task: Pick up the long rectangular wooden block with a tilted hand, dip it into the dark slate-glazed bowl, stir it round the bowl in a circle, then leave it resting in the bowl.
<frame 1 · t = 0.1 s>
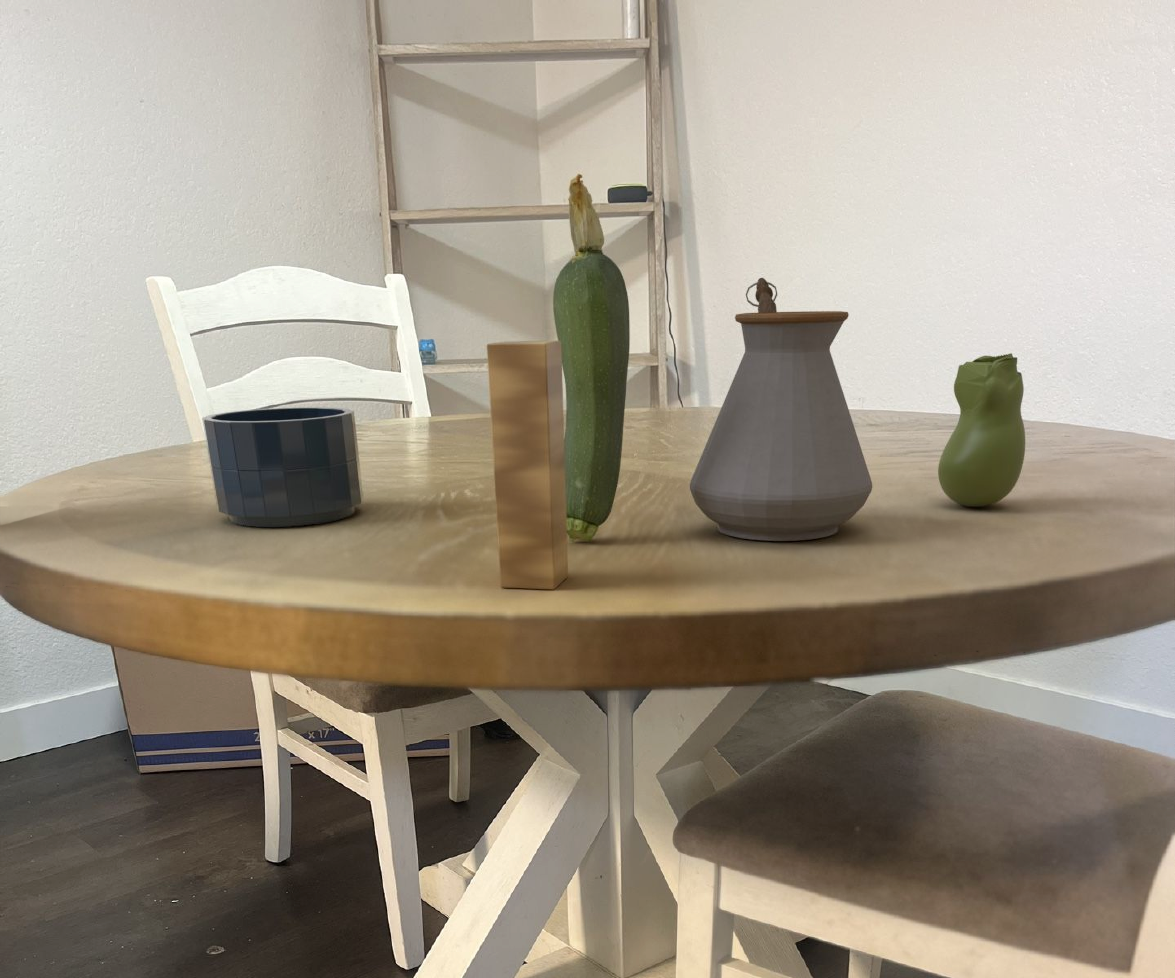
long rectangular wooden block: (534, 582, 56), on the table
bowl: (293, 515, 76), on the table
vegetable: (595, 545, 66), on the table
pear: (973, 509, 74), on the table
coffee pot: (768, 518, 72), on the table
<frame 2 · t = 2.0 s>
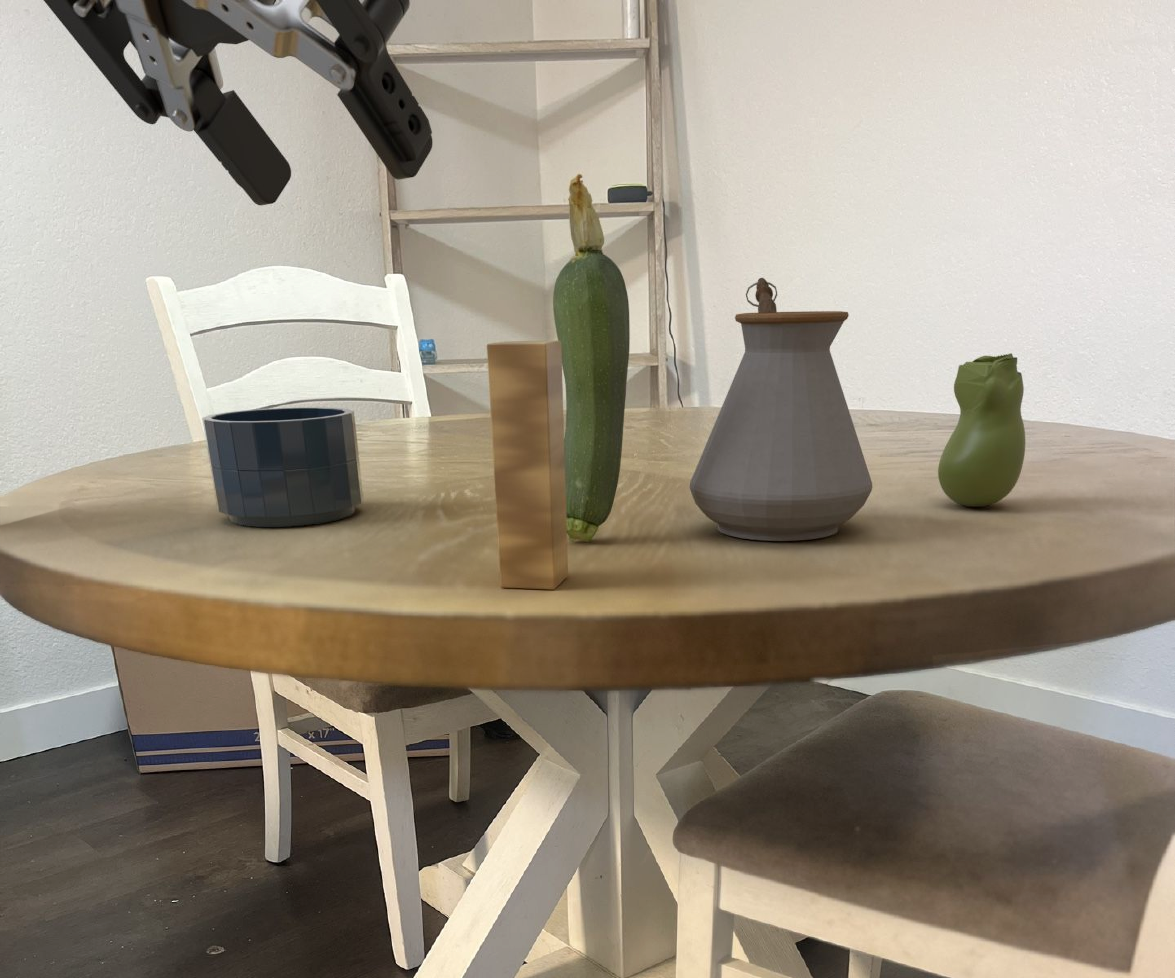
hand: (343, 178, 42), 19 cm above the table, tool tilted 45°, fingers open, 8 cm apart
nothing on the table moved.
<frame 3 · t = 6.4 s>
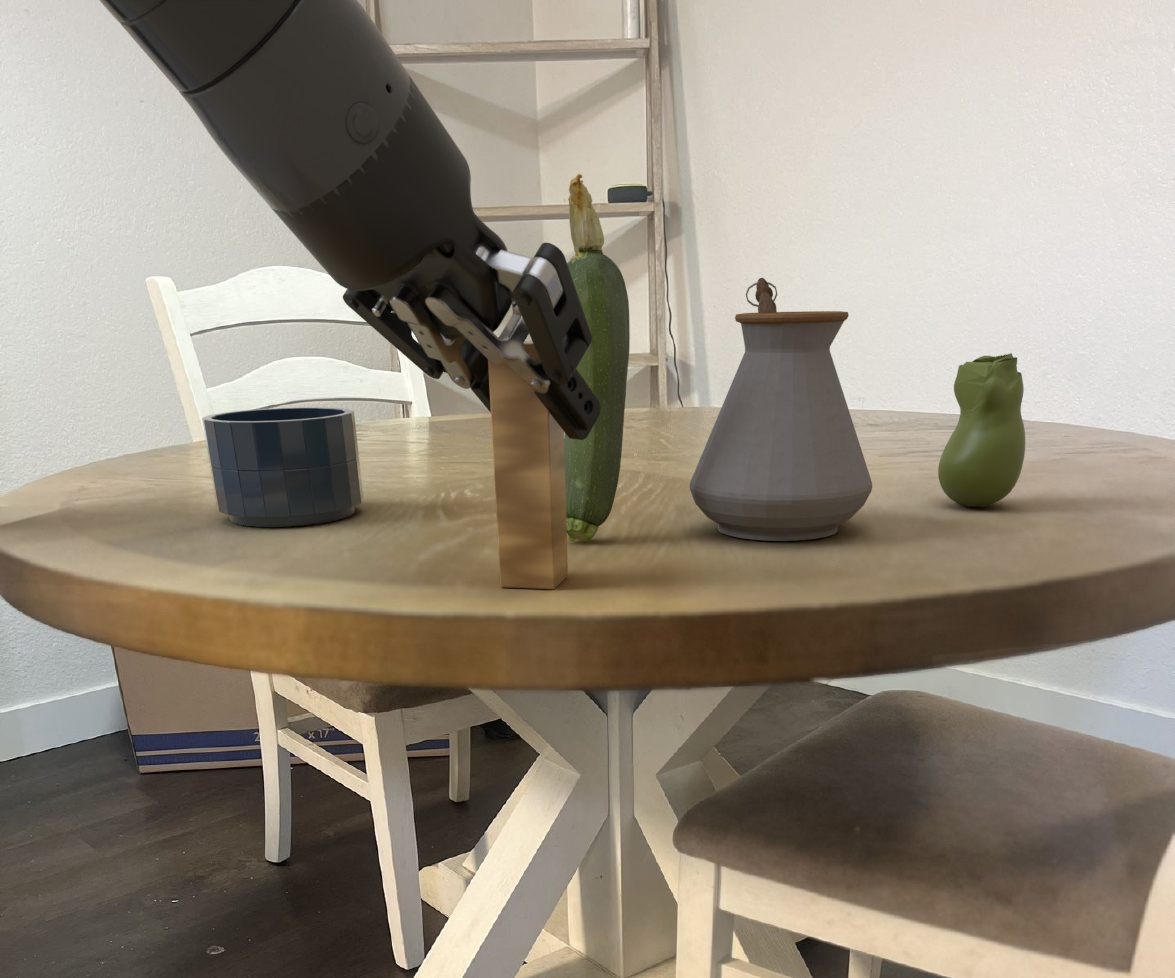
hand: (554, 422, 54), 8 cm above the table, tool tilted 45°, fingers closed on long rectangular wooden block, 4 cm apart
long rectangular wooden block: (534, 581, 57), on the table, touching gripper
everything else where it was.
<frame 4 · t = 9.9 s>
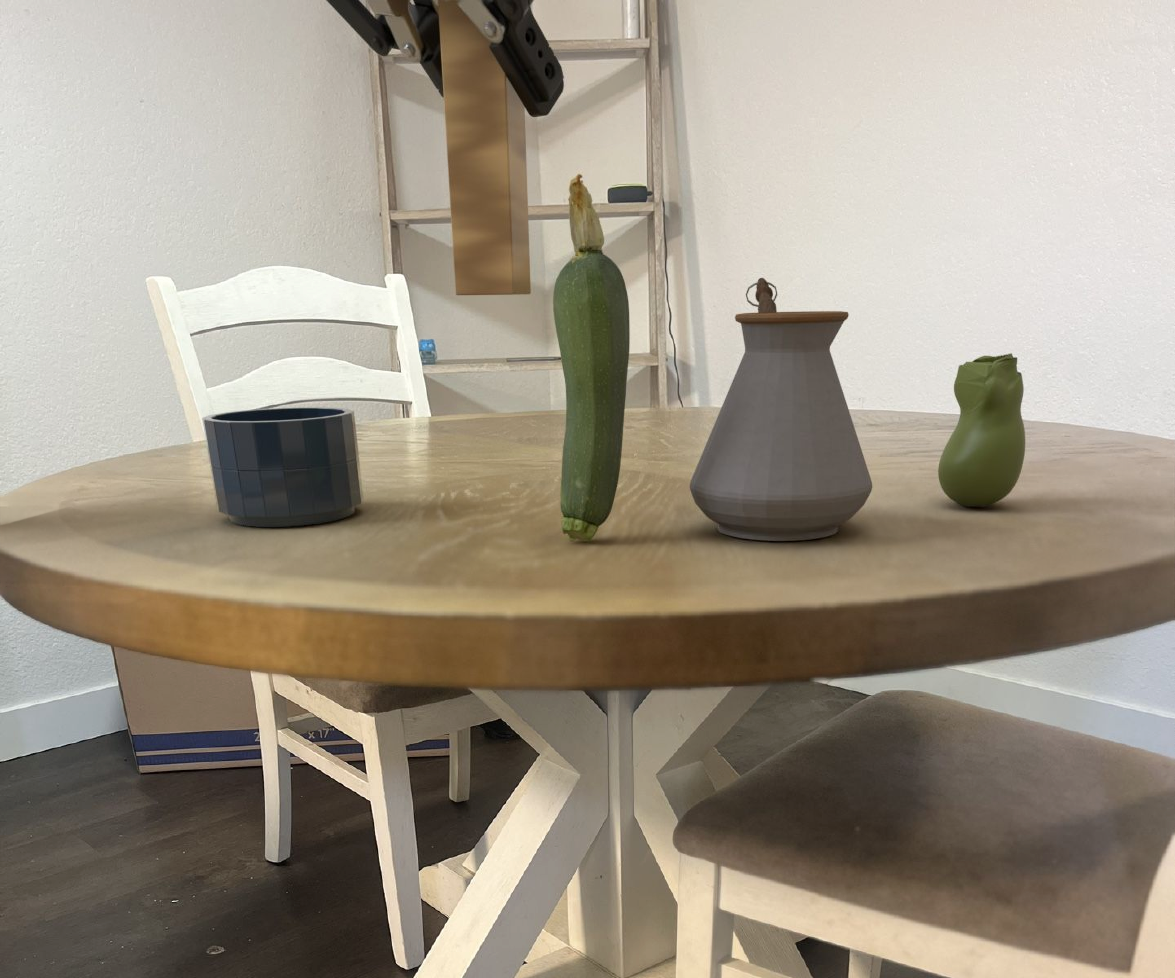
hand: (514, 108, 50), 22 cm above the table, tool tilted 45°, fingers closed on long rectangular wooden block, 4 cm apart
long rectangular wooden block: (493, 294, 52), point 14 cm above the table, touching gripper
everything else where it was.
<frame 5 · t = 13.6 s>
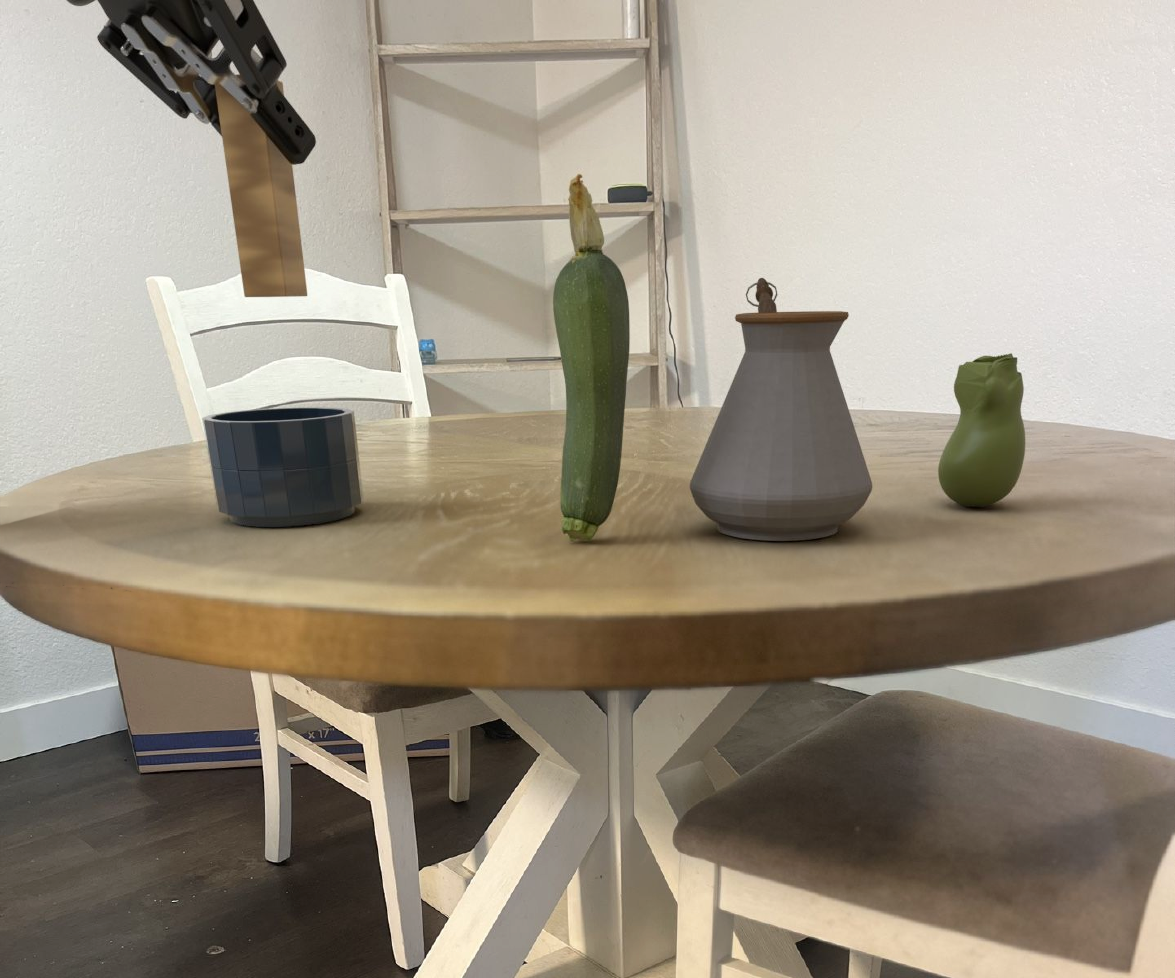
hand: (284, 157, 66), 22 cm above the table, tool tilted 45°, fingers closed on long rectangular wooden block, 4 cm apart
long rectangular wooden block: (276, 296, 68), point 14 cm above the table, touching gripper
everything else where it was.
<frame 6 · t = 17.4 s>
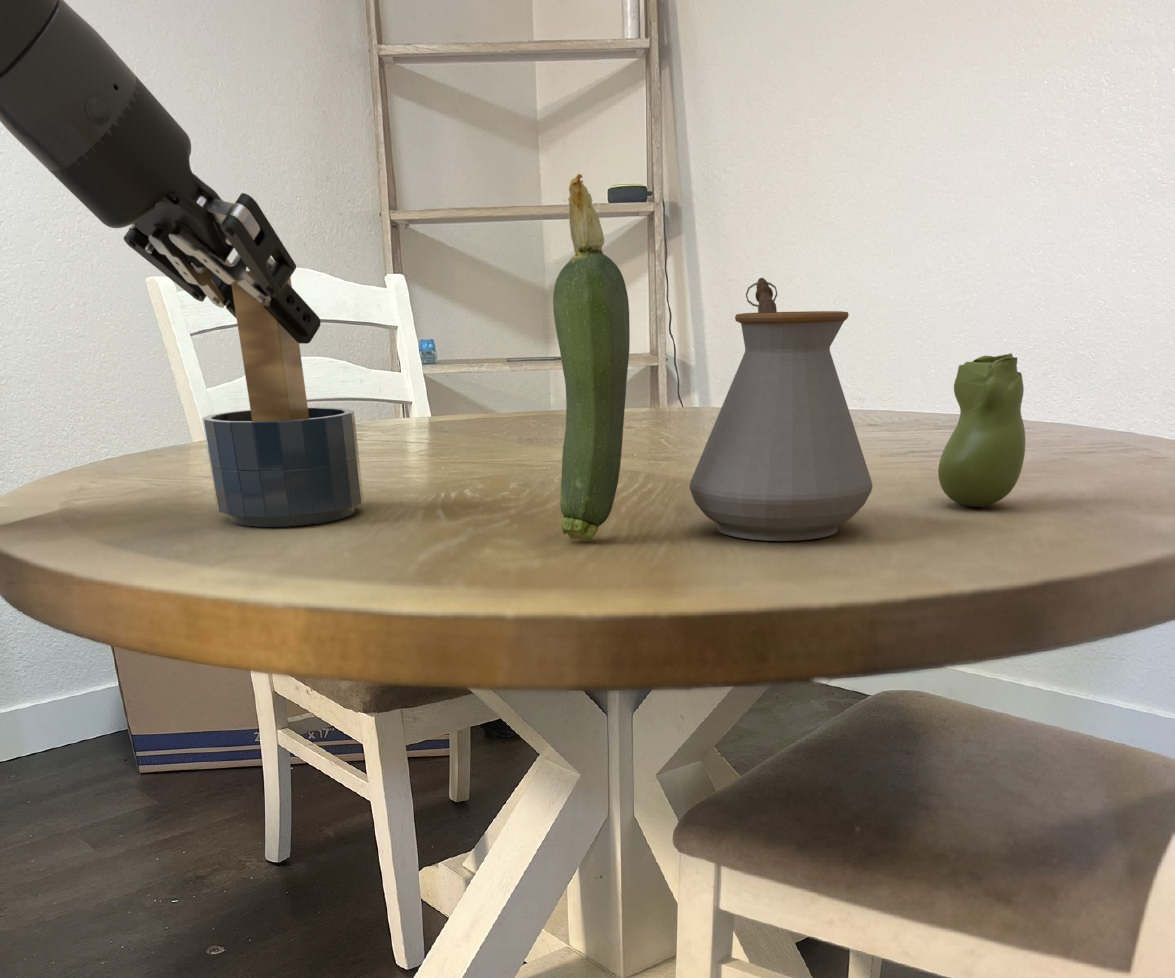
hand: (291, 333, 74), 12 cm above the table, tool tilted 45°, fingers closed on long rectangular wooden block, 4 cm apart
long rectangular wooden block: (286, 454, 76), point 4 cm above the table, touching gripper
everything else where it was.
when the fingers open (9 cm above the table, at t = 20.7 s): long rectangular wooden block stays where it is, resting on bowl.
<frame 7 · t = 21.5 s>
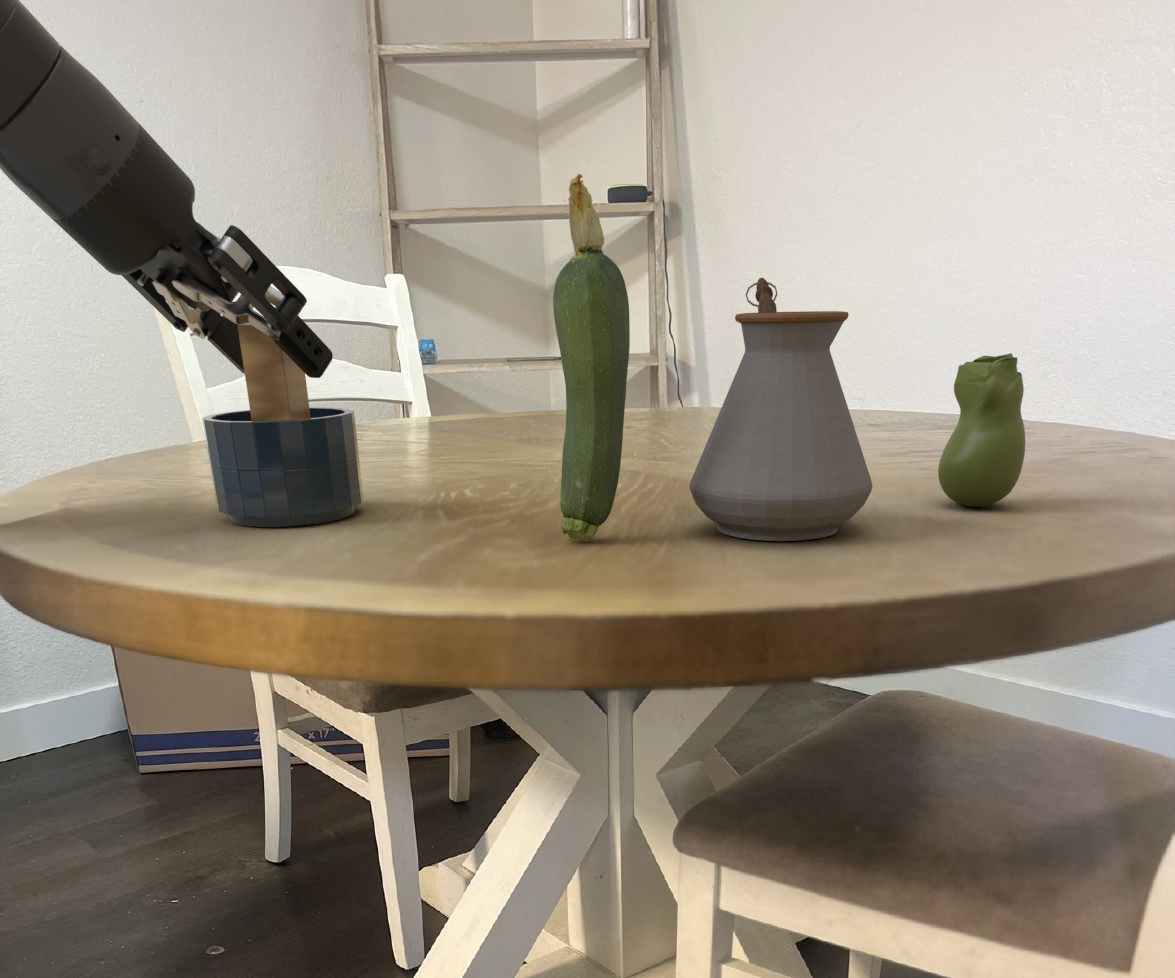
hand: (289, 366, 73), 10 cm above the table, tool tilted 45°, fingers open, 8 cm apart
long rectangular wooden block: (293, 504, 75), point 1 cm above the table, touching bowl
everything else where it was.
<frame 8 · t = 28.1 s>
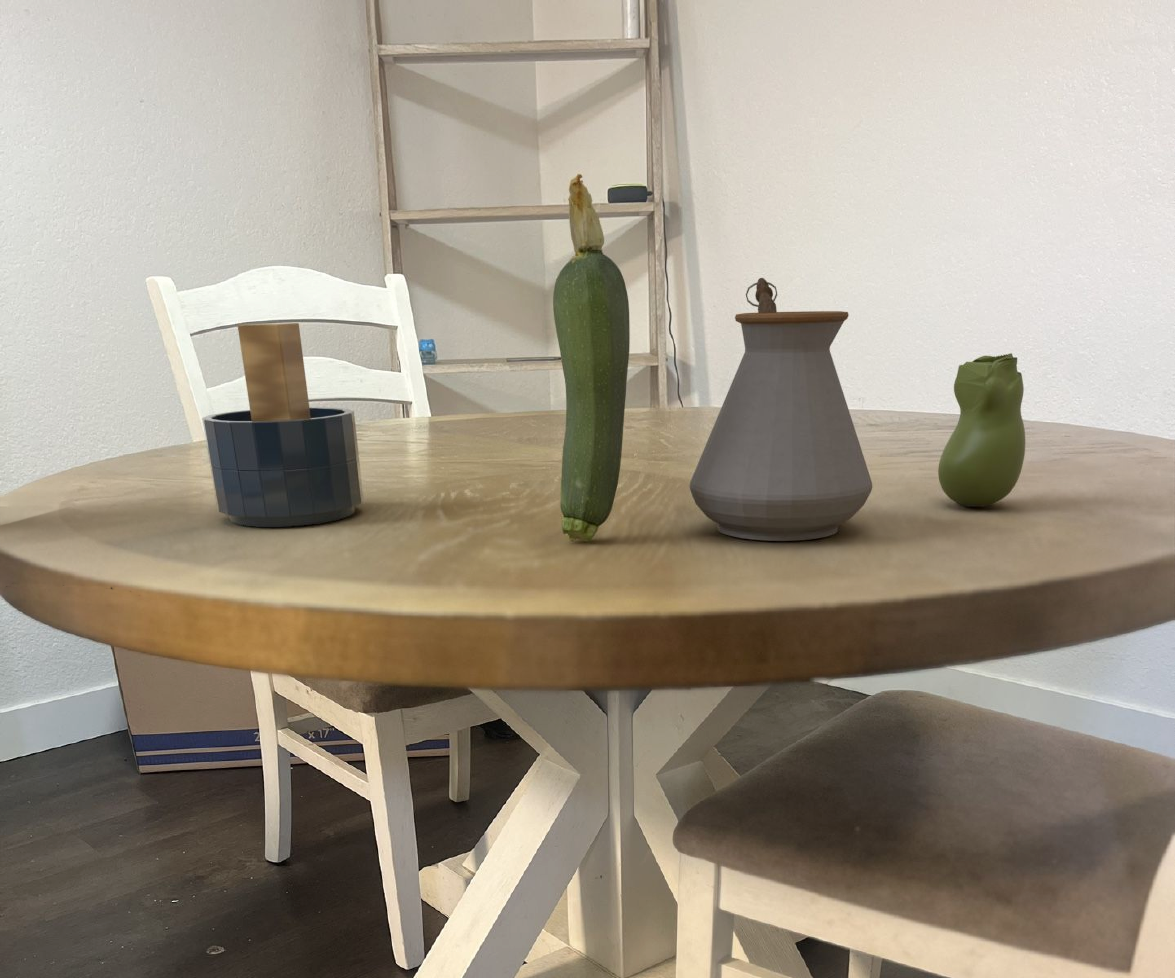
nothing on the table moved.
at the end: long rectangular wooden block inside the target area in the bowl (0.2 cm from its centre), point 0.8 cm above the bowl's base; the gripper is holding nothing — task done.
